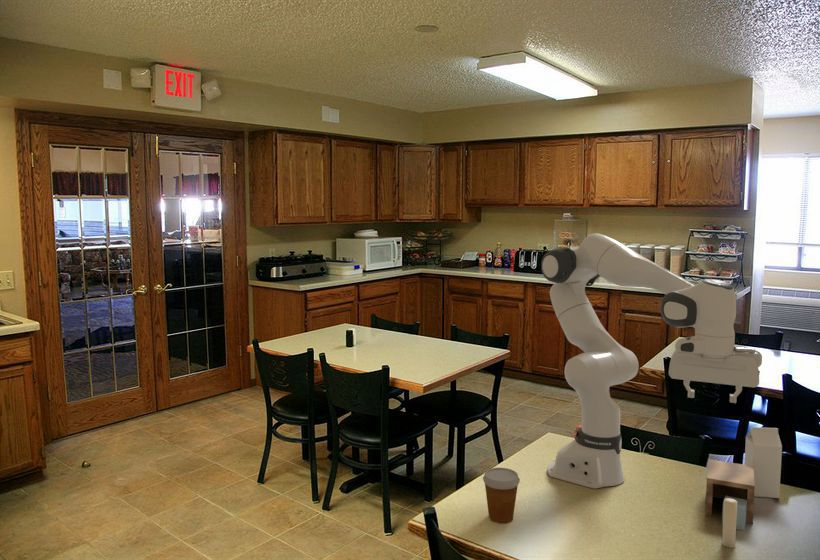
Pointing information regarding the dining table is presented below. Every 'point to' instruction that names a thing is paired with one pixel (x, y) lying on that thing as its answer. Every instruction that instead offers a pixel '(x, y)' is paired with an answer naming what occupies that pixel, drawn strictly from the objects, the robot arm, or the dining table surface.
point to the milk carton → (764, 460)
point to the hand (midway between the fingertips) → (711, 399)
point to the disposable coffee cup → (501, 493)
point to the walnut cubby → (730, 484)
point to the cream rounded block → (733, 519)
